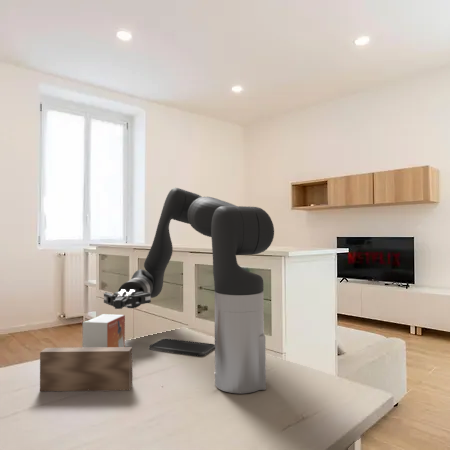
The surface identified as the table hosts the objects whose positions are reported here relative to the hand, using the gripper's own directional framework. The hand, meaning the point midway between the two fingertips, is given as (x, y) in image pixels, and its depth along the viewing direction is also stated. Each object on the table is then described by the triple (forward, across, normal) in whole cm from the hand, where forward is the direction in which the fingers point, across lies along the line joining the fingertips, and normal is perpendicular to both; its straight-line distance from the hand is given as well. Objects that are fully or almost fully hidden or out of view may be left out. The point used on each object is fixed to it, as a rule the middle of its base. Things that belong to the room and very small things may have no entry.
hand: (117, 304), depth 89 cm
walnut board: (+21, 0, +11) cm, 23 cm away
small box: (+10, 0, +11) cm, 16 cm away
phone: (-2, +15, +12) cm, 19 cm away
